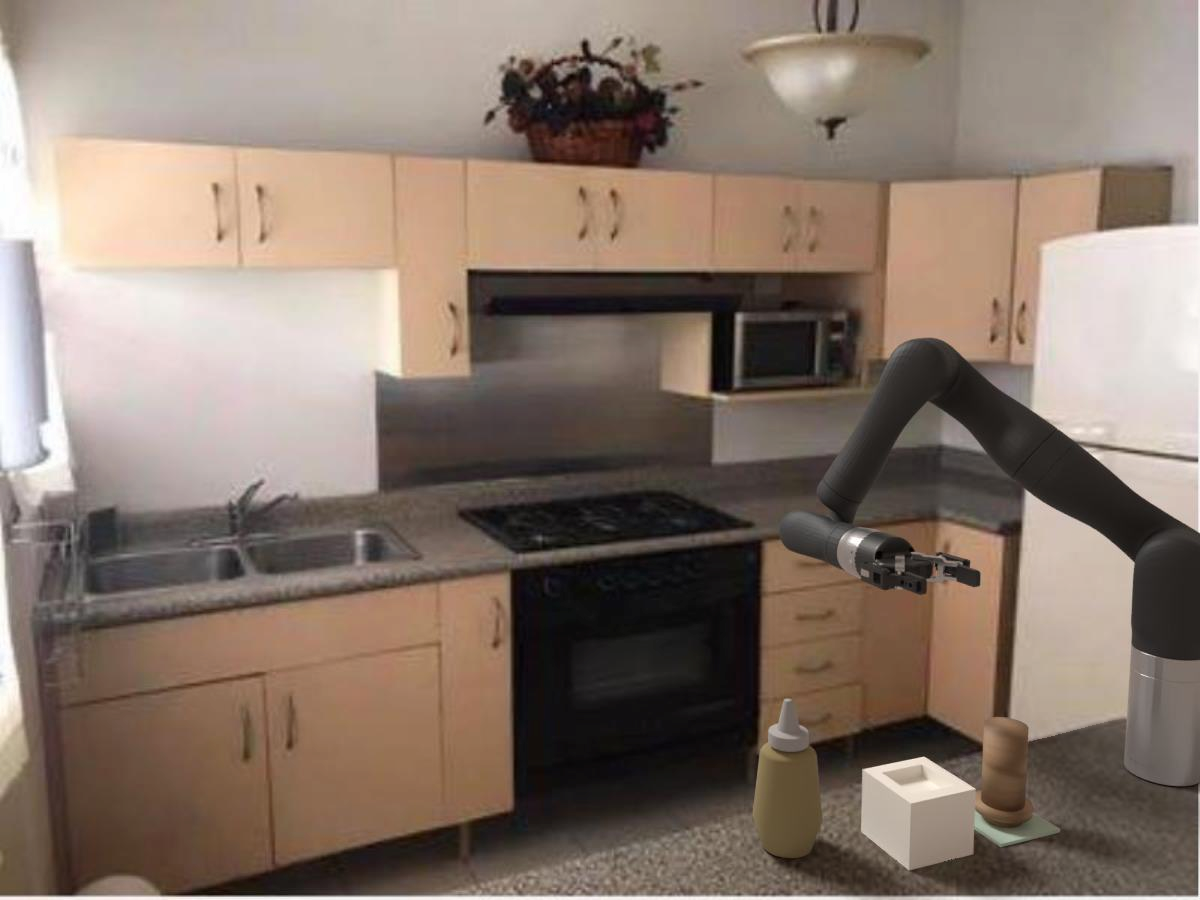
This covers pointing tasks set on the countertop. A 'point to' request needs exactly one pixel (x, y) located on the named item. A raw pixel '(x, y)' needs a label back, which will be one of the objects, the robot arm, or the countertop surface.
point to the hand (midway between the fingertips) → (951, 583)
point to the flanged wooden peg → (1004, 773)
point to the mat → (1014, 830)
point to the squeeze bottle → (787, 789)
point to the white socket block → (918, 812)
